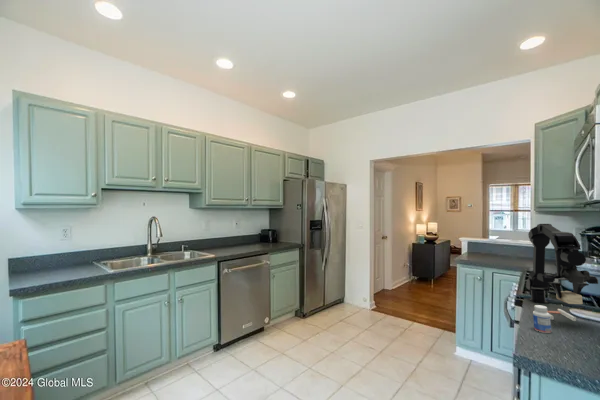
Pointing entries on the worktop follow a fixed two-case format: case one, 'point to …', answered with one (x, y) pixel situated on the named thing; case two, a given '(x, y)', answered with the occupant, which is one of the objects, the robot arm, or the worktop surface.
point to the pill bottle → (541, 319)
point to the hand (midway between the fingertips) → (568, 298)
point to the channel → (562, 314)
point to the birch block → (570, 297)
